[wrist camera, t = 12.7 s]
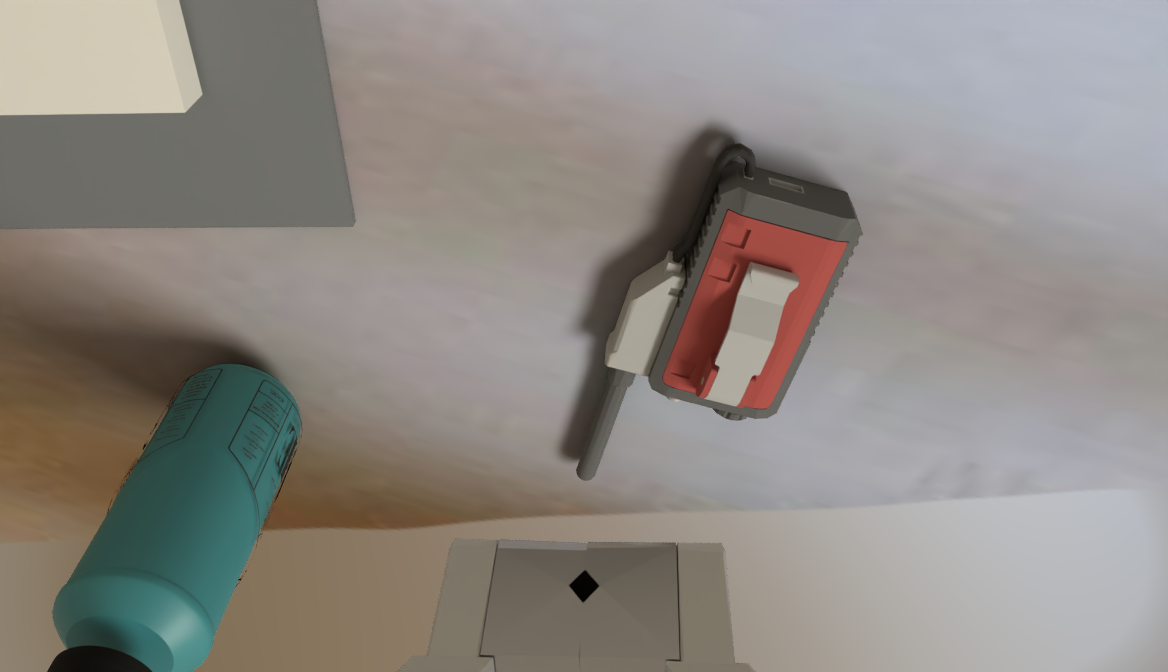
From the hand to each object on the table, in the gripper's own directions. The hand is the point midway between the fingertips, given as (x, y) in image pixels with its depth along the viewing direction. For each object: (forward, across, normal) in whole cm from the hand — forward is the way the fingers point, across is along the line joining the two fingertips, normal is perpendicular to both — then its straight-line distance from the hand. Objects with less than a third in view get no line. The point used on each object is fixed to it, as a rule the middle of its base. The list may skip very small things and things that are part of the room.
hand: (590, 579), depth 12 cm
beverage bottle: (+34, +20, +24) cm, 46 cm away
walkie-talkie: (+35, -4, +20) cm, 40 cm away
